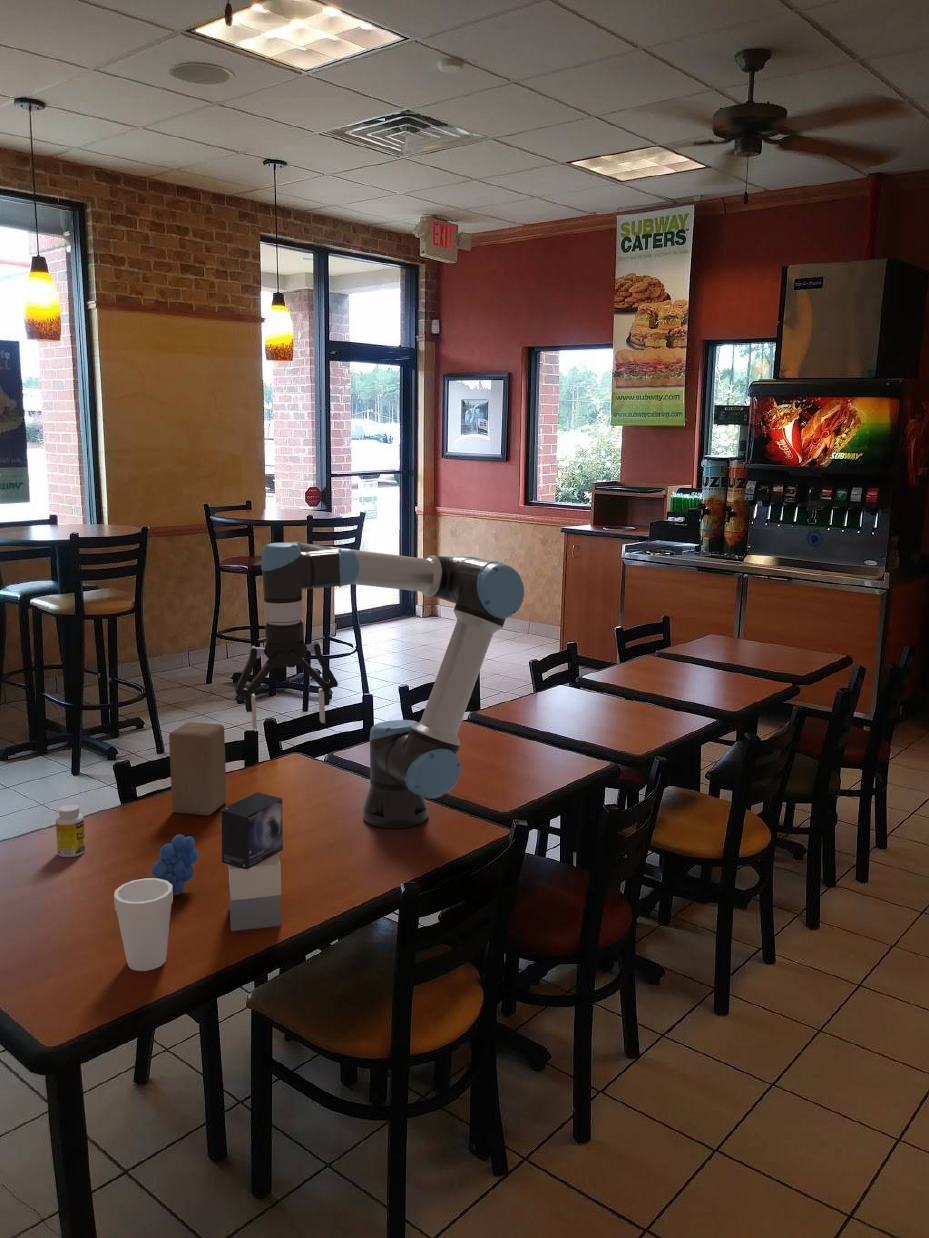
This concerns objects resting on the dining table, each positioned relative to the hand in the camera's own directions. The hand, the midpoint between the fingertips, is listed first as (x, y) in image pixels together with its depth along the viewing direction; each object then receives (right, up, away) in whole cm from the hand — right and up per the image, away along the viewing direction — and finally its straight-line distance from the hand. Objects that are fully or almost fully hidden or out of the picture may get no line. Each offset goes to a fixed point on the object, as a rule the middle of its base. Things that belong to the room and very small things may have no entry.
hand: (288, 724), depth 200 cm
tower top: (-4, -29, -16) cm, 33 cm away
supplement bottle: (-48, -29, +11) cm, 58 cm away
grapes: (-22, -33, -7) cm, 40 cm away
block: (-28, -24, +37) cm, 53 cm away
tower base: (-4, -35, -15) cm, 38 cm away
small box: (-4, -23, -17) cm, 29 cm away
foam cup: (-19, -37, -31) cm, 52 cm away
